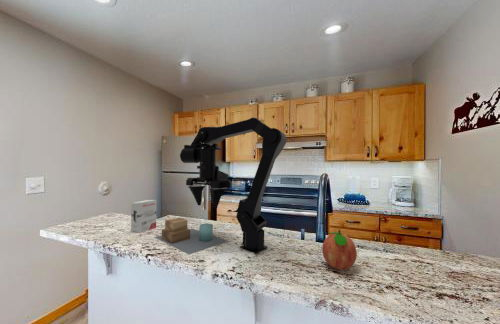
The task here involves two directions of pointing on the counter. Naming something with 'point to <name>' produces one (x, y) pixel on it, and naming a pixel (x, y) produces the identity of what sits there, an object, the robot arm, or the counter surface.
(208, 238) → the teal cylinder
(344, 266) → the fruit
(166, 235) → the walnut base block
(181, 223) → the oak block
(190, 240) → the slate mat
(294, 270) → the counter surface
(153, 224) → the ink box
